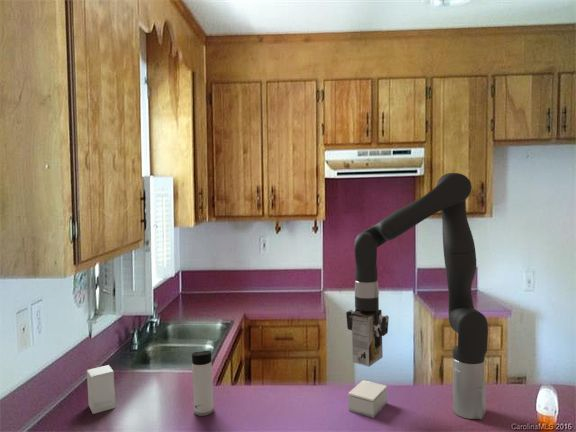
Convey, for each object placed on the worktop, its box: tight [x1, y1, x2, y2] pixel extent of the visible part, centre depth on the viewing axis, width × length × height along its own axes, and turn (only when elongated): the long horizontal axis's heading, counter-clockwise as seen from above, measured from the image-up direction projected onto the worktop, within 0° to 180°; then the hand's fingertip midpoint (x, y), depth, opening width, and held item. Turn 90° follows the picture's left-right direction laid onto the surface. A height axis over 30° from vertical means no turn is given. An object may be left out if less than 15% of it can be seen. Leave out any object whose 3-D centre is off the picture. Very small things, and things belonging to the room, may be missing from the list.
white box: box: [347, 388, 388, 419], centre depth 144 cm, size 8×11×5 cm
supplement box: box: [86, 364, 116, 415], centre depth 149 cm, size 7×7×13 cm
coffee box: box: [351, 309, 383, 368], centre depth 142 cm, size 9×6×16 cm
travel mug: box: [191, 350, 214, 417], centre depth 143 cm, size 6×7×20 cm
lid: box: [348, 379, 388, 401], centre depth 143 cm, size 8×11×1 cm
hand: (367, 345), depth 142 cm, fingers closed on coffee box, 6 cm apart
